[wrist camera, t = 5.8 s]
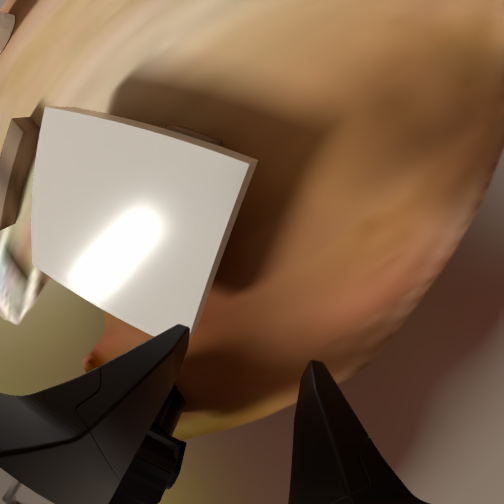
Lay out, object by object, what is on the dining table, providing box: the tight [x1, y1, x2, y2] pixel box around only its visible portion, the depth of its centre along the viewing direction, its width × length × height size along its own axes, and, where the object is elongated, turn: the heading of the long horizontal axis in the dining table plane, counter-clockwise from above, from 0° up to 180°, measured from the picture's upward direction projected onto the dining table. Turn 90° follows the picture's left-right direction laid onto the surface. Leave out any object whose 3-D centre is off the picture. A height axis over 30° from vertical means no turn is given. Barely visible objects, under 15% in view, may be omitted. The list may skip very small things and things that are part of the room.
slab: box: [31, 107, 258, 341], centre depth 16 cm, size 12×14×3 cm
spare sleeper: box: [0, 117, 40, 230], centre depth 19 cm, size 12×3×3 cm, turn 140°
